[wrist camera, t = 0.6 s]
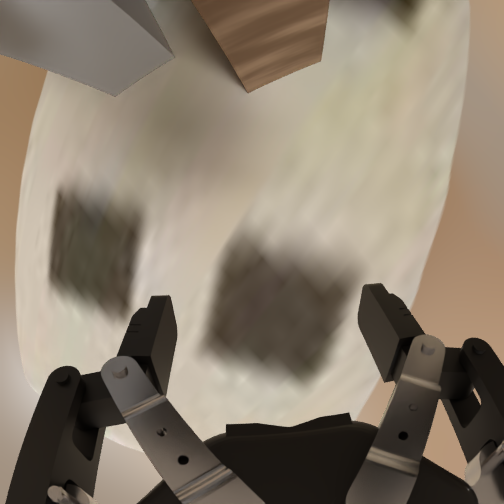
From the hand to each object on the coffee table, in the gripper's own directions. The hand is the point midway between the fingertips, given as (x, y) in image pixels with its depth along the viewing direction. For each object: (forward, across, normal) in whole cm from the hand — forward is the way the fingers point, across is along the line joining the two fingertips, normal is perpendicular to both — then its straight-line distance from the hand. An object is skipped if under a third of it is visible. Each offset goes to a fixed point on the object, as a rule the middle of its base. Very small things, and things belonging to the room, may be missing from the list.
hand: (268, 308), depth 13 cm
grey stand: (+36, +16, -19) cm, 43 cm away
